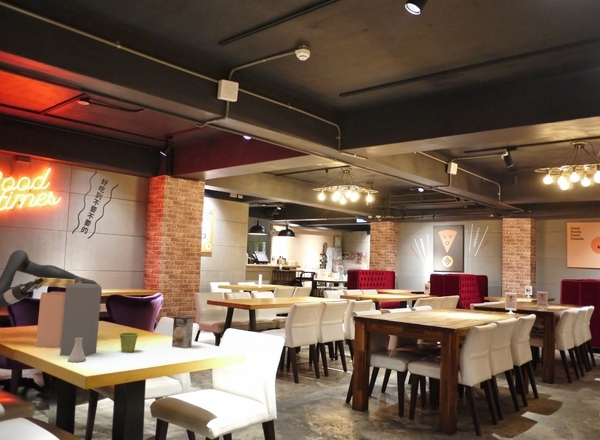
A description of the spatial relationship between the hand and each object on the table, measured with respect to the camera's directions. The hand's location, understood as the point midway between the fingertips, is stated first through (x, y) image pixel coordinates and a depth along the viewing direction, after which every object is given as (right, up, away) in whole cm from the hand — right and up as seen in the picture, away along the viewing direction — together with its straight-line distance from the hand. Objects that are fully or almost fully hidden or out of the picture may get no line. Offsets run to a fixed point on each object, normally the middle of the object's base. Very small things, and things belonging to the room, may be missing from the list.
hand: (45, 279), depth 255 cm
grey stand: (+28, -33, -22) cm, 48 cm away
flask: (+34, -32, -38) cm, 60 cm away
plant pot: (+47, -35, -10) cm, 60 cm away
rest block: (+6, -34, -4) cm, 35 cm away
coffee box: (+69, -38, +10) cm, 80 cm away
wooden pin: (+7, -4, -1) cm, 8 cm away
